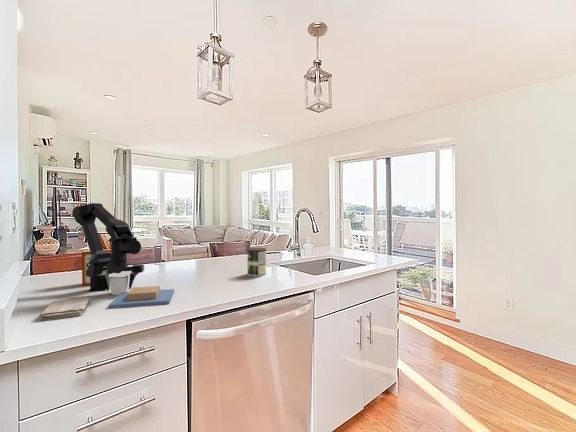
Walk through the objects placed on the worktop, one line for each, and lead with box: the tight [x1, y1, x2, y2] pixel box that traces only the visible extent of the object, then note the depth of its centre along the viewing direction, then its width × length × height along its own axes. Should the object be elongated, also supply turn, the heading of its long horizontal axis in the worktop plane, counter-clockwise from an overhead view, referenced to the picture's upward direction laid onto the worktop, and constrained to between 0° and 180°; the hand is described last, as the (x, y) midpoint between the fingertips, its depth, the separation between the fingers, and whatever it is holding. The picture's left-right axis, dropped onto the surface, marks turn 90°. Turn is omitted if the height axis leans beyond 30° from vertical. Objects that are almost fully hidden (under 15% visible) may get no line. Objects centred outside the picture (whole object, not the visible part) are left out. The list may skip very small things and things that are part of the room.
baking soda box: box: [81, 248, 107, 287], centre depth 146 cm, size 10×6×16 cm
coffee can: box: [246, 247, 267, 277], centre depth 168 cm, size 10×10×14 cm
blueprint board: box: [108, 285, 175, 309], centre depth 120 cm, size 20×18×4 cm
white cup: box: [109, 274, 129, 296], centre depth 129 cm, size 7×7×7 cm
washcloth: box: [39, 296, 91, 322], centre depth 106 cm, size 12×18×3 cm, turn 28°
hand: (119, 289), depth 129 cm, fingers open, 8 cm apart
